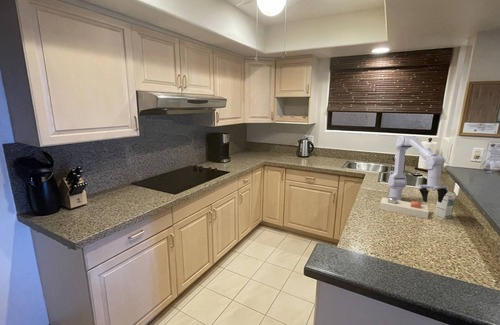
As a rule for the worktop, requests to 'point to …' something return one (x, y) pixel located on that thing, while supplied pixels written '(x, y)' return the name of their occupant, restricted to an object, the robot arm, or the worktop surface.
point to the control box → (404, 208)
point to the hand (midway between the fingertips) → (432, 201)
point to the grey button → (392, 200)
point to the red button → (415, 204)
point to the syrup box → (446, 206)
